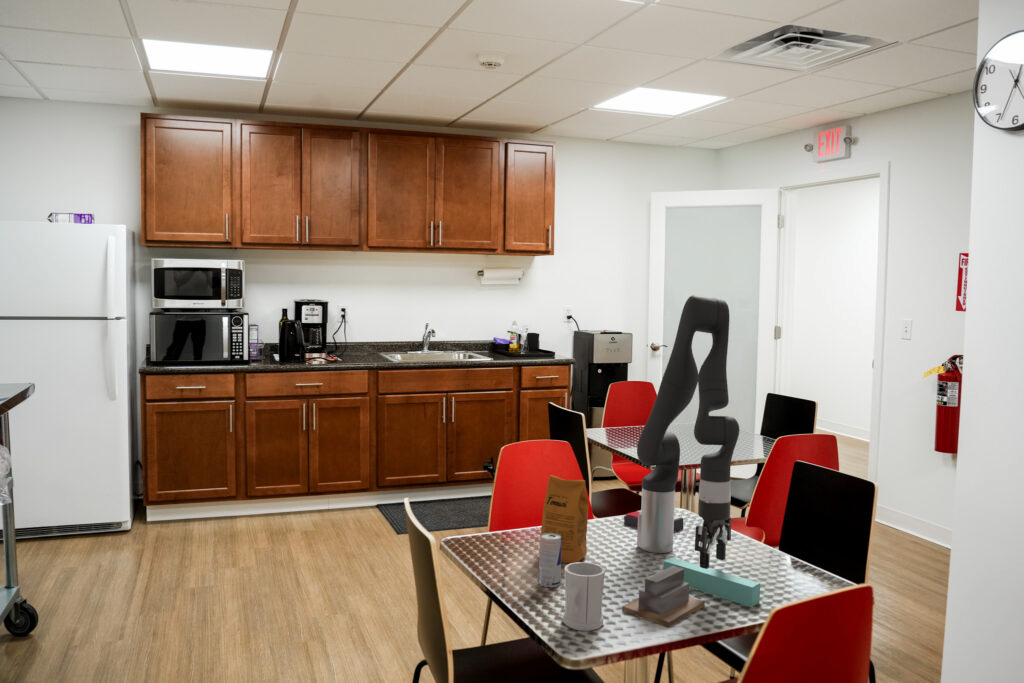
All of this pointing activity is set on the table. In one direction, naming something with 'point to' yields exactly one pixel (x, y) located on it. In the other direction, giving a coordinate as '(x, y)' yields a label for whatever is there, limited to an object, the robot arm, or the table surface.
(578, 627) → the cup
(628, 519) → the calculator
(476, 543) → the table surface
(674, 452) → the robot arm
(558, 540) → the energy drink
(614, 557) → the table surface
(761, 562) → the table surface
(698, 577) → the teal bar
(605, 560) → the table surface
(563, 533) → the coffee package
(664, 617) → the ridge block
